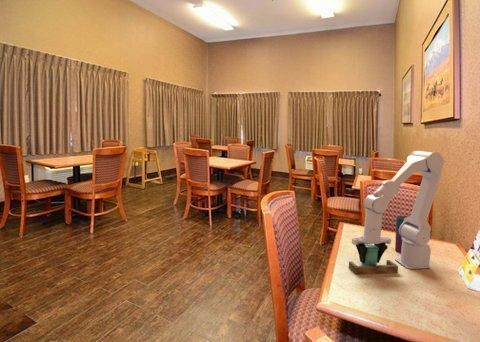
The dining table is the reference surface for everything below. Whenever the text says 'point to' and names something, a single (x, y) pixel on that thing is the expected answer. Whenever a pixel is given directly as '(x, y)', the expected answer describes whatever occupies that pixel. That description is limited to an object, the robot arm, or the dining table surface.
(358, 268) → the dock
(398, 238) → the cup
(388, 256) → the dining table surface
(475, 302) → the dining table surface
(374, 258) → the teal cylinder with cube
